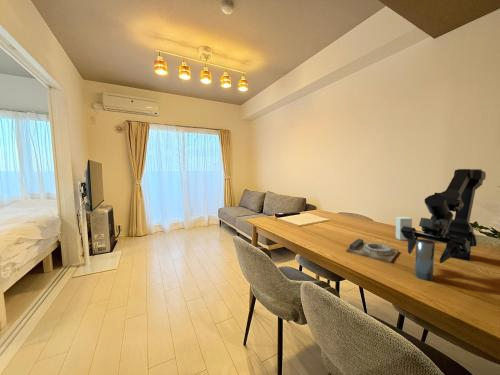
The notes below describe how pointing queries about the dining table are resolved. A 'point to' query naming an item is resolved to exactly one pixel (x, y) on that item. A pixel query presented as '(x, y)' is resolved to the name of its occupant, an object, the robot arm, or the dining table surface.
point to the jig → (373, 250)
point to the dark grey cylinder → (424, 259)
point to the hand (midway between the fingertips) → (423, 257)
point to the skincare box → (400, 223)
